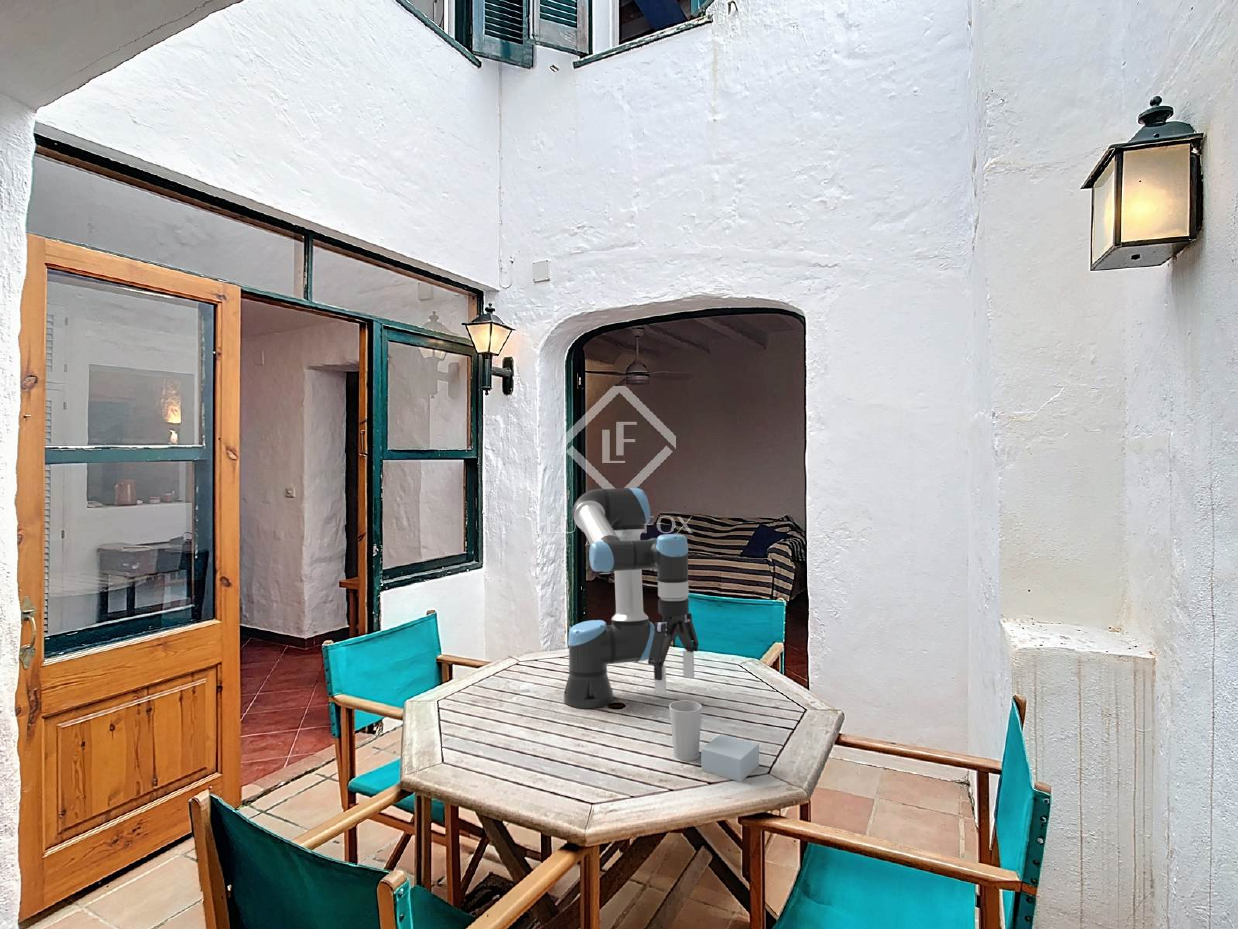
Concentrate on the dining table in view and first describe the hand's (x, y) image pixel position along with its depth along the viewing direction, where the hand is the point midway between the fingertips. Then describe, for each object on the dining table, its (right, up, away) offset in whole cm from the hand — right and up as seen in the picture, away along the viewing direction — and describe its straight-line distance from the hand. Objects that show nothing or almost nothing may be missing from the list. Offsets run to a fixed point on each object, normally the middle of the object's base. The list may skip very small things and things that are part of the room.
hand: (675, 685), depth 157 cm
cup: (+3, -18, +1) cm, 18 cm away
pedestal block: (+12, -17, -6) cm, 22 cm away
